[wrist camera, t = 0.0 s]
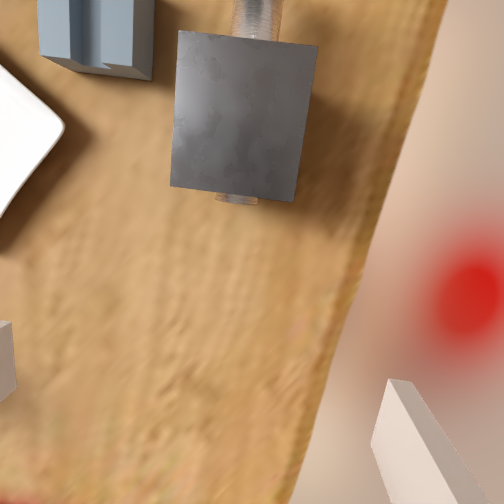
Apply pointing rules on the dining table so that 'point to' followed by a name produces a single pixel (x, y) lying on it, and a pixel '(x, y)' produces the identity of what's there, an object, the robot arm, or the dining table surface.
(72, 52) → the v block
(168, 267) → the dining table surface
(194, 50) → the slotted grey block
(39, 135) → the salad plate
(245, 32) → the axle
